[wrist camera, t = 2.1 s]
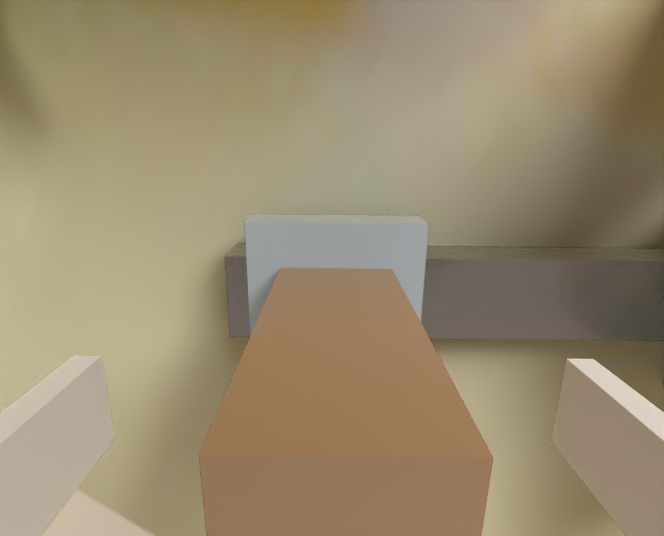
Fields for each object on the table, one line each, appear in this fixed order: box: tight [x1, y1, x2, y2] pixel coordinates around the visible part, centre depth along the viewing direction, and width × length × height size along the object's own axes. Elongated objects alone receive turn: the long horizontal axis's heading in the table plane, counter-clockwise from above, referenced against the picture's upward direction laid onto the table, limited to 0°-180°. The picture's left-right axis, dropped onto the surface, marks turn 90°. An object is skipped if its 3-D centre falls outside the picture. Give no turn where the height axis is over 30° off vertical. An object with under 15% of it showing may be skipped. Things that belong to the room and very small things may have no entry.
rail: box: [225, 244, 664, 341], centre depth 20 cm, size 4×24×2 cm, turn 89°
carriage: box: [199, 214, 493, 536], centre depth 13 cm, size 8×7×14 cm
